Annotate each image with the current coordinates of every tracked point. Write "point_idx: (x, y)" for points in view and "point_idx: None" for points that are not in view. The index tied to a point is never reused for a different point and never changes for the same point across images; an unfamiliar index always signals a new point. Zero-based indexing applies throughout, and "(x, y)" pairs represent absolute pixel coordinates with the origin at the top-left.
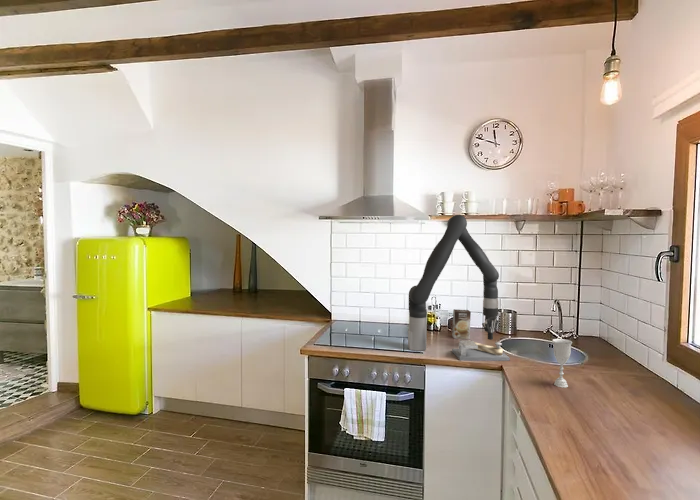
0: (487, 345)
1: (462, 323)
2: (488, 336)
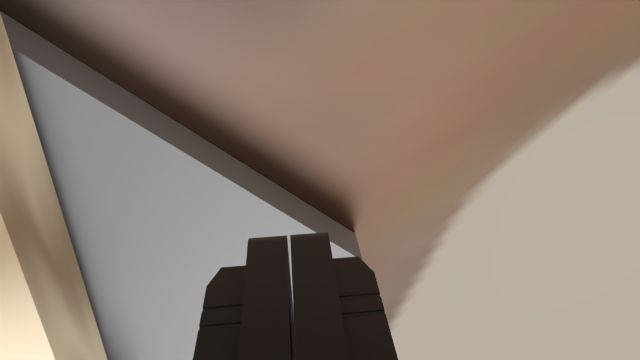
0: (29, 317)
1: None
2: (207, 331)
